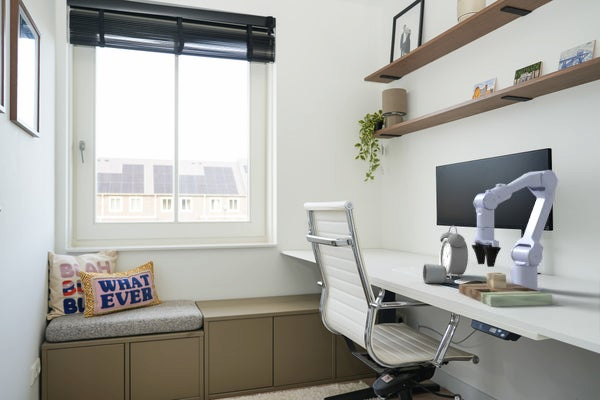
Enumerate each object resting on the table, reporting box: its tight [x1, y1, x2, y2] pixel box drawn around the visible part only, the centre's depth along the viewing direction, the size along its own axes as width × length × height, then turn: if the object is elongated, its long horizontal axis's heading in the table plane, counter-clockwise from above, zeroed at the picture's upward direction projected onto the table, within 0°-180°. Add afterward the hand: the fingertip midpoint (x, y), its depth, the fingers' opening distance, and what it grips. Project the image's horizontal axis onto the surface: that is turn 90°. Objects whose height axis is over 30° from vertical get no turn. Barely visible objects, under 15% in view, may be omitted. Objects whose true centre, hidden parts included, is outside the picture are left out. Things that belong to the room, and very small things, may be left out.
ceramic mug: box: [422, 263, 448, 284], centre depth 185 cm, size 11×8×8 cm
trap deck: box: [458, 282, 553, 307], centre depth 154 cm, size 22×20×3 cm
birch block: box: [486, 272, 507, 288], centre depth 158 cm, size 4×4×4 cm
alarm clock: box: [438, 225, 469, 280], centre depth 199 cm, size 16×9×22 cm, turn 0°
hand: (485, 265), depth 165 cm, fingers open, 6 cm apart
